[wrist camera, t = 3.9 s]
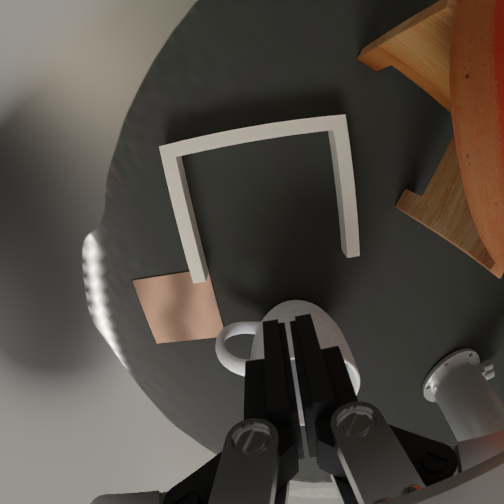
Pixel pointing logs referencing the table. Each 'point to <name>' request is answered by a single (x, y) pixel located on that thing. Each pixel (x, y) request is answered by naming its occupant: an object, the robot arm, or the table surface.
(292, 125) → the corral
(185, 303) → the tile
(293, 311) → the mug
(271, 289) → the table surface
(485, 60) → the planter
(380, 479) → the robot arm
